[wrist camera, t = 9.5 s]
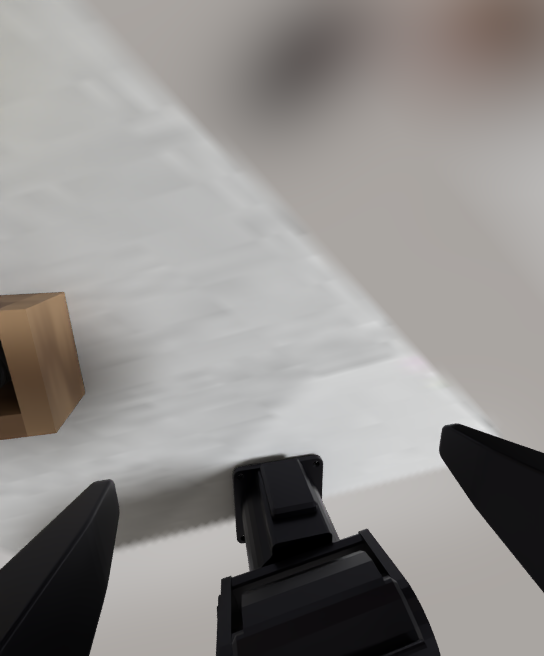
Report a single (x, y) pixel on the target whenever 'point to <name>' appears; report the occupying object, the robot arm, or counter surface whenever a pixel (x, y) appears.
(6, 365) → the peg
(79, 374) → the block with square hole
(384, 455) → the counter surface
